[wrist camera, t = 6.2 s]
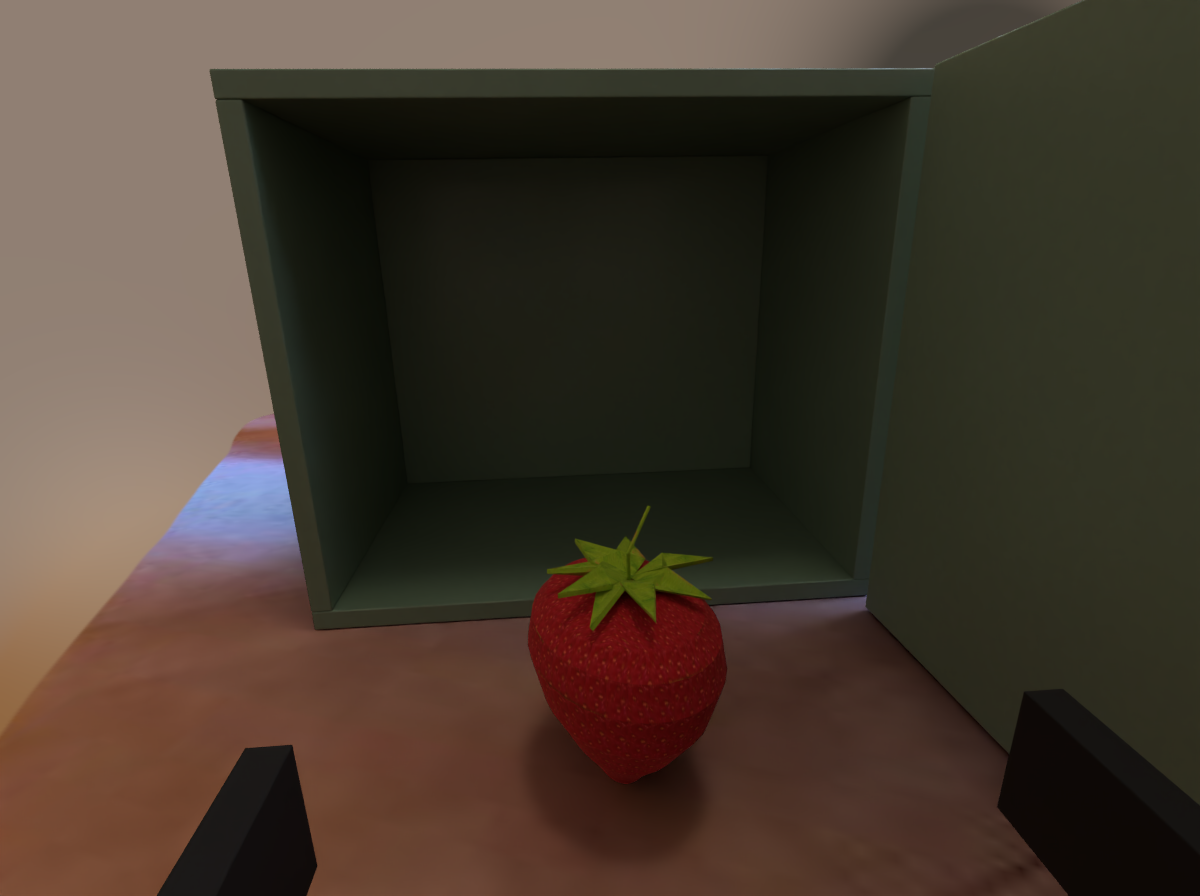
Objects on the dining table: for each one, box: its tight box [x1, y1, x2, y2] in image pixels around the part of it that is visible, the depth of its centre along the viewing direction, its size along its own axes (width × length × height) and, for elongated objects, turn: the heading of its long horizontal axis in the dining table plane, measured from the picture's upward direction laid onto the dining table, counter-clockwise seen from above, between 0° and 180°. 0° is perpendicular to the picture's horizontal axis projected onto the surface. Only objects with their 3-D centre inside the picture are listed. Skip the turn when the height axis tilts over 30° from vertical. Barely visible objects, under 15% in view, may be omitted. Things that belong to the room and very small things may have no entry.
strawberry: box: [528, 506, 727, 784], centre depth 20 cm, size 6×8×10 cm
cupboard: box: [210, 68, 935, 630], centre depth 36 cm, size 18×28×24 cm, turn 95°
